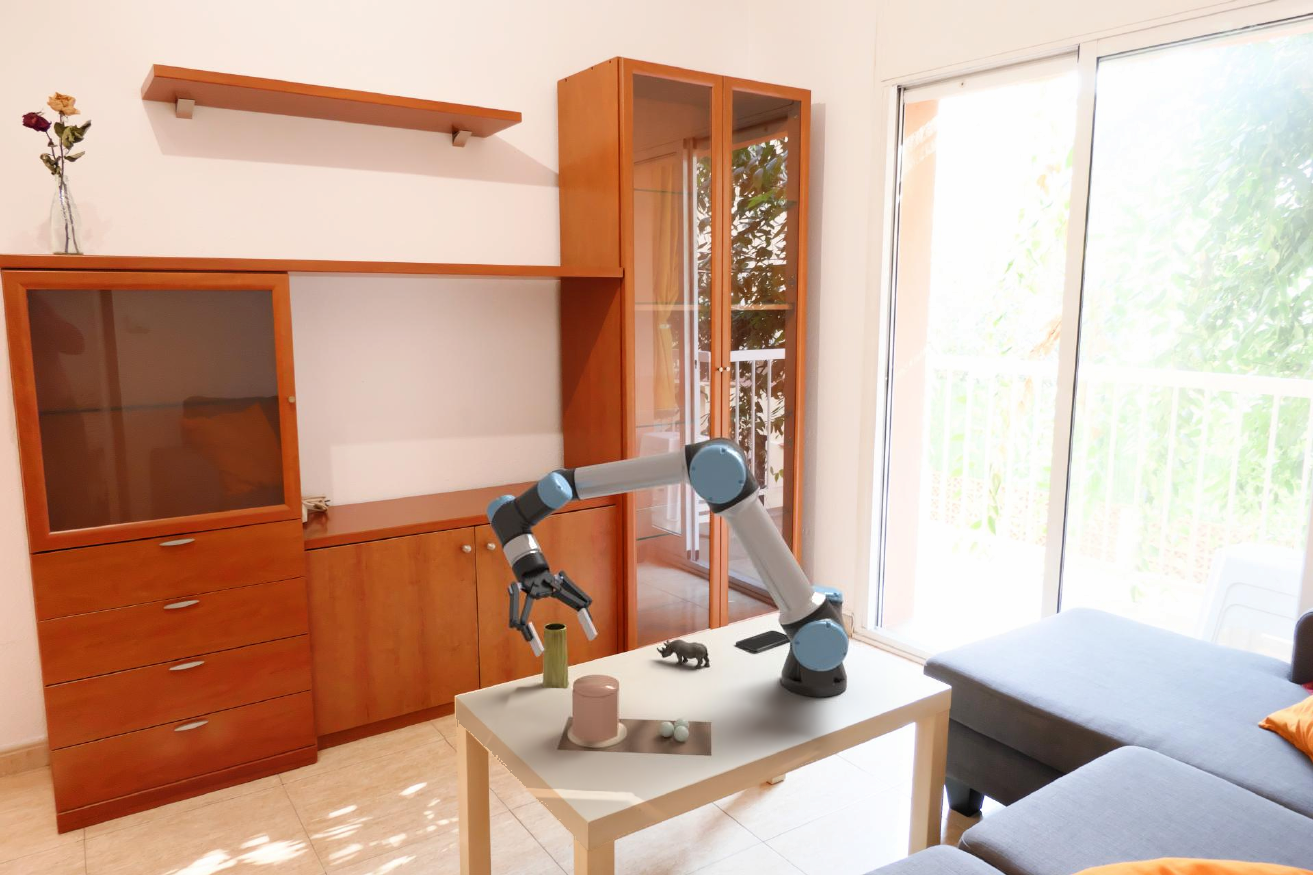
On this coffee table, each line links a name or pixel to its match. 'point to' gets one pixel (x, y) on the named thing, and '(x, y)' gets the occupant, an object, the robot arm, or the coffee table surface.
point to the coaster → (611, 742)
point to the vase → (555, 656)
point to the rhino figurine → (686, 652)
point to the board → (651, 739)
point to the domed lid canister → (595, 708)
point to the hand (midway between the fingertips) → (567, 645)
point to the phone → (763, 642)
